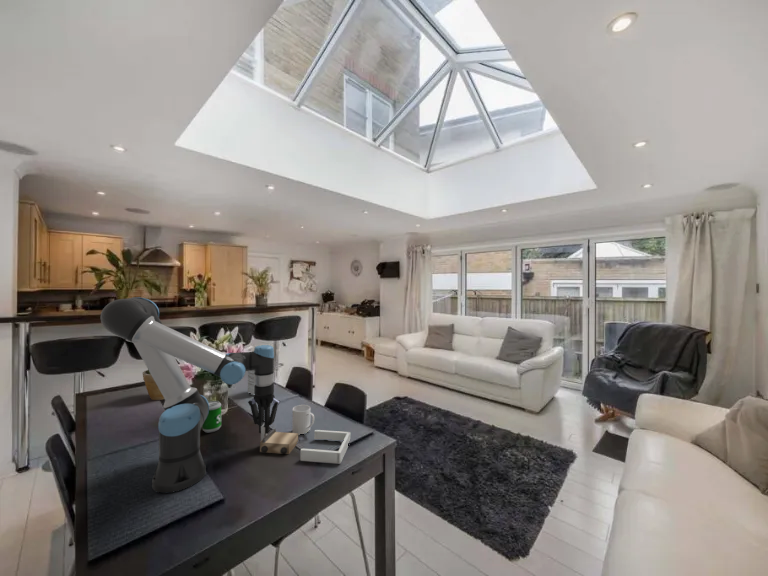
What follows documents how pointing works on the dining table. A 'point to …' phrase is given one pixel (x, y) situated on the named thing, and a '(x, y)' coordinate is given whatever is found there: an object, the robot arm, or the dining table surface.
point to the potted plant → (152, 386)
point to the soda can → (213, 417)
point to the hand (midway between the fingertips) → (264, 440)
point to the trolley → (278, 442)
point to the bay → (327, 455)
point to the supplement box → (251, 381)
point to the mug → (302, 419)
